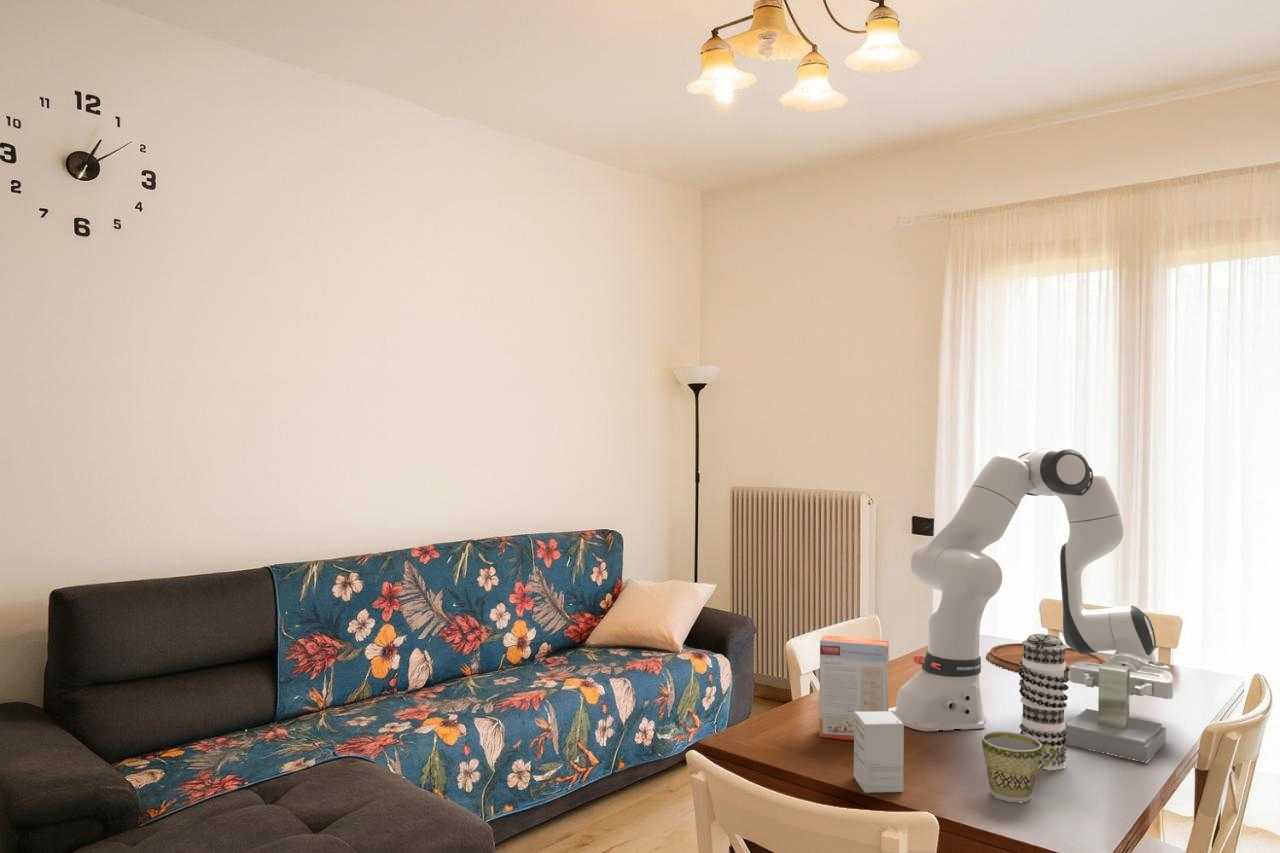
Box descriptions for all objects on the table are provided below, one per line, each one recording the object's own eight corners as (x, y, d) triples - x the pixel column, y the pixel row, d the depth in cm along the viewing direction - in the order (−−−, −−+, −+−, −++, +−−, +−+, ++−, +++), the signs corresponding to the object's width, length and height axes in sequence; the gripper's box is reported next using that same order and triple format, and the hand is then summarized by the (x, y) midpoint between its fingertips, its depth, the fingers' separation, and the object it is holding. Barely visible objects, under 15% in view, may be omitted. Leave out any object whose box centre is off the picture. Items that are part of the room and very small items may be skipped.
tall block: (1124, 730, 185) (1125, 672, 185) (1098, 724, 188) (1098, 667, 188) (1129, 723, 189) (1129, 667, 189) (1103, 718, 192) (1103, 663, 192)
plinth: (1146, 763, 177) (1147, 743, 177) (1061, 743, 188) (1061, 724, 188) (1165, 743, 189) (1165, 724, 189) (1084, 725, 200) (1084, 707, 200)
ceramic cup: (992, 807, 156) (993, 749, 156) (973, 784, 166) (973, 730, 166) (1068, 809, 155) (1068, 751, 155) (1043, 786, 165) (1044, 732, 165)
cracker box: (888, 736, 191) (889, 639, 191) (886, 746, 185) (887, 645, 185) (822, 728, 195) (823, 633, 195) (818, 737, 190) (819, 639, 190)
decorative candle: (1024, 750, 184) (1026, 629, 184) (1073, 761, 178) (1075, 636, 178) (1011, 763, 176) (1012, 636, 176) (1061, 775, 171) (1062, 644, 171)
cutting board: (961, 657, 260) (961, 648, 260) (1040, 646, 274) (1040, 638, 274) (1054, 686, 231) (1054, 676, 231) (1136, 673, 245) (1136, 664, 245)
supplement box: (891, 777, 169) (892, 710, 169) (904, 793, 161) (905, 723, 161) (852, 777, 168) (853, 710, 168) (863, 793, 161) (864, 723, 161)
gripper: (1075, 651, 205) (1060, 663, 194) (1178, 667, 192) (1169, 681, 182) (1075, 679, 205) (1060, 692, 194) (1178, 696, 192) (1168, 712, 182)
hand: (1113, 687), depth 188 cm, fingers open, 8 cm apart
